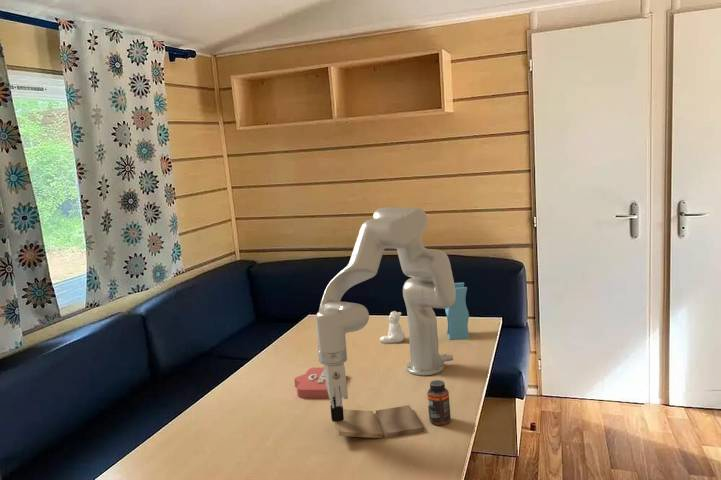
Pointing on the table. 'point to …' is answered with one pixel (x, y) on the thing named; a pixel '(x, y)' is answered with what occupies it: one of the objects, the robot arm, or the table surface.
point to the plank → (359, 424)
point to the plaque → (312, 384)
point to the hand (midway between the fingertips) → (337, 419)
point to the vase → (458, 315)
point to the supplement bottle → (438, 403)
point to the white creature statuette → (393, 330)
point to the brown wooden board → (398, 421)
